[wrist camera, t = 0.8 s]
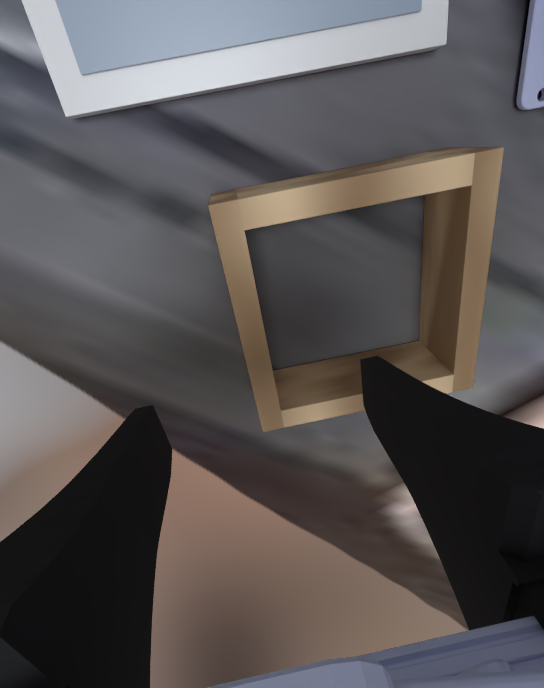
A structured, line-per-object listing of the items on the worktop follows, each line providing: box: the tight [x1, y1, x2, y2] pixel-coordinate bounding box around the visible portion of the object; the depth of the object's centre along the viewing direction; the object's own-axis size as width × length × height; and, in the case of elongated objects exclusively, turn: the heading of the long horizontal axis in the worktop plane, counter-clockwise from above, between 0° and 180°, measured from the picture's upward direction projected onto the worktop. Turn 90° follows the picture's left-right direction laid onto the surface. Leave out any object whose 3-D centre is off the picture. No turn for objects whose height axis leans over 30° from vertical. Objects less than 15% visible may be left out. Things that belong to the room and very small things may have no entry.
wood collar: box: [208, 147, 504, 432], centre depth 19 cm, size 12×12×4 cm
